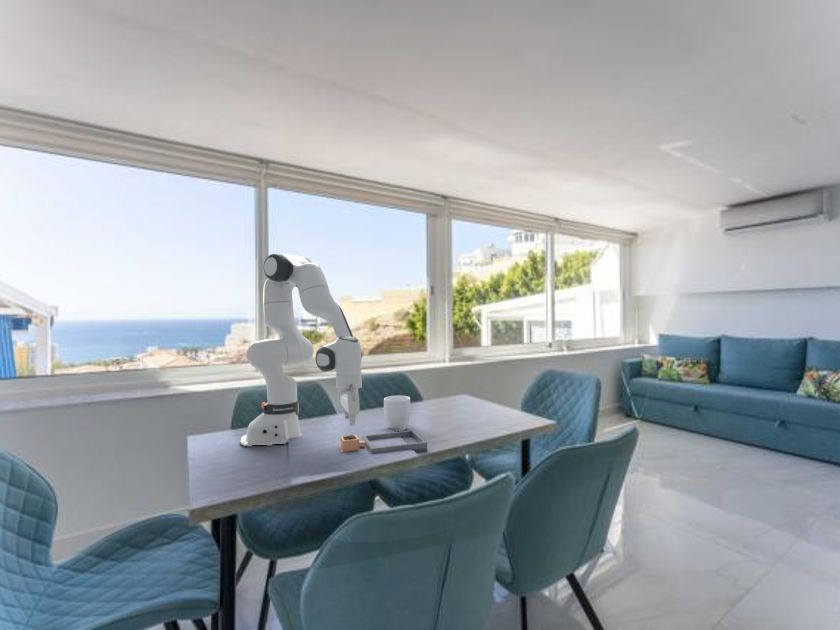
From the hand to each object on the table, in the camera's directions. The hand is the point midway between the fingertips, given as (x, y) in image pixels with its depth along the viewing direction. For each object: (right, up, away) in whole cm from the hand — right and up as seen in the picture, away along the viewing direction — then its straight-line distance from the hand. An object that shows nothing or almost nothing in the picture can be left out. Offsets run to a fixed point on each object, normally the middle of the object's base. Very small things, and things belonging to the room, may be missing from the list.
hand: (349, 421), depth 149 cm
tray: (+15, -11, +5) cm, 19 cm away
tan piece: (+1, -9, +1) cm, 9 cm away
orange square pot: (0, -11, 0) cm, 11 cm away
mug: (+16, -10, +29) cm, 34 cm away
